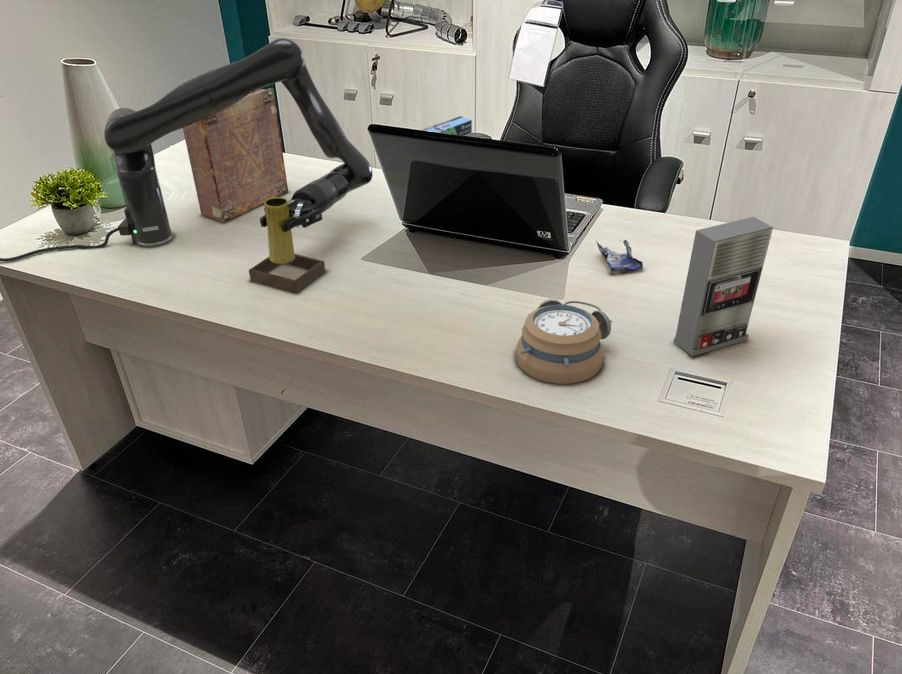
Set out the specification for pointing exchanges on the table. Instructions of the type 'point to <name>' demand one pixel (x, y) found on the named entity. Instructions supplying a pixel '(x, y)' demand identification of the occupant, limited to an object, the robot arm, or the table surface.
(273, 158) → the book
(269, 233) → the vase
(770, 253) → the table surface
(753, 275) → the cassette tape recorder
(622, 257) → the snack package
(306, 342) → the table surface
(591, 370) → the alarm clock
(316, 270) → the open brown wooden box
